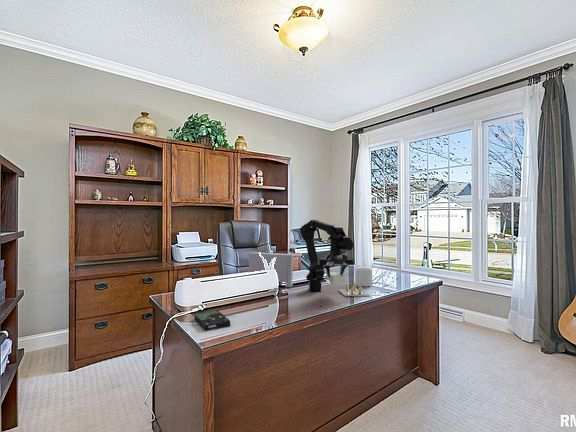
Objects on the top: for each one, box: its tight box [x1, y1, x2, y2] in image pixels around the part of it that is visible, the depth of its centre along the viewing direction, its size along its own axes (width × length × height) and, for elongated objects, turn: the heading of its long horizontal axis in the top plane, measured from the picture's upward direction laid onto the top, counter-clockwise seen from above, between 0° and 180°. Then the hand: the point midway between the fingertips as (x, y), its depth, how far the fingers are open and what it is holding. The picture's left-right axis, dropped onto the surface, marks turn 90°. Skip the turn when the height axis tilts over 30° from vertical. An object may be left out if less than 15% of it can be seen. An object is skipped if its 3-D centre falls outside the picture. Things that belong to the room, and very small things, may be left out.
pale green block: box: [325, 271, 346, 284], centre depth 160 cm, size 6×12×4 cm, turn 11°
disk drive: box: [193, 310, 231, 332], centre depth 120 cm, size 10×3×15 cm
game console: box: [248, 251, 294, 288], centre depth 186 cm, size 6×27×20 cm, turn 78°
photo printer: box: [355, 266, 373, 287], centre depth 188 cm, size 10×4×12 cm, turn 86°
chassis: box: [338, 282, 370, 297], centre depth 169 cm, size 14×12×5 cm
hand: (335, 277), depth 160 cm, fingers closed on pale green block, 6 cm apart
